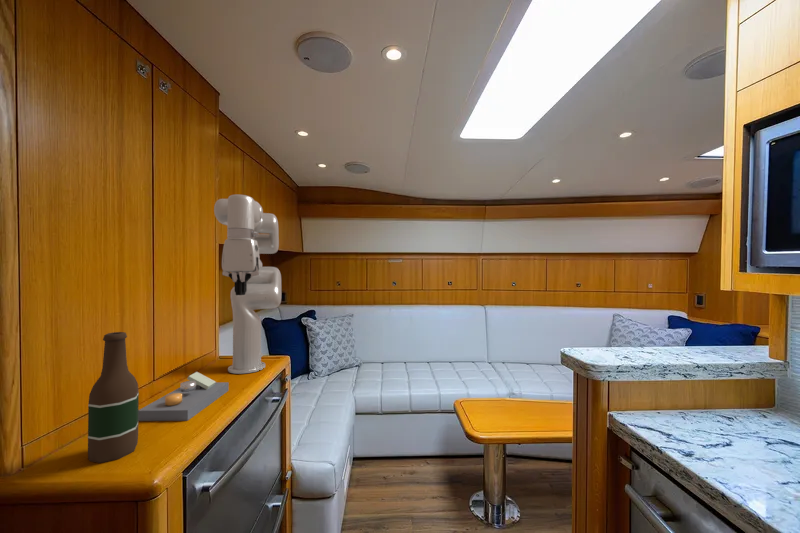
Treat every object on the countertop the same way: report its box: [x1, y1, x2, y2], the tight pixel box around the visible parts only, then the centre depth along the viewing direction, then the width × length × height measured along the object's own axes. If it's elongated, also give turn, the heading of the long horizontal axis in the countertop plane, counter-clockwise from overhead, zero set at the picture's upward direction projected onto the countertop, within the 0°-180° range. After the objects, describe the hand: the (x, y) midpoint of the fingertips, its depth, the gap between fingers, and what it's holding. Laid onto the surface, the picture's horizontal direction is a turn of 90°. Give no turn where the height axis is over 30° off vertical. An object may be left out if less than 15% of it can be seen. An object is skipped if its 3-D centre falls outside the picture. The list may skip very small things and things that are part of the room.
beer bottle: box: [87, 331, 140, 464], centre depth 66 cm, size 8×8×24 cm
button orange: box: [164, 393, 182, 406], centre depth 84 cm, size 4×4×2 cm
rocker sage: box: [186, 371, 217, 389], centre depth 96 cm, size 4×6×1 cm, turn 91°
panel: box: [138, 381, 230, 422], centre depth 90 cm, size 20×12×4 cm, turn 1°
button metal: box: [179, 380, 196, 392], centre depth 90 cm, size 4×4×2 cm
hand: (240, 294), depth 102 cm, fingers closed
